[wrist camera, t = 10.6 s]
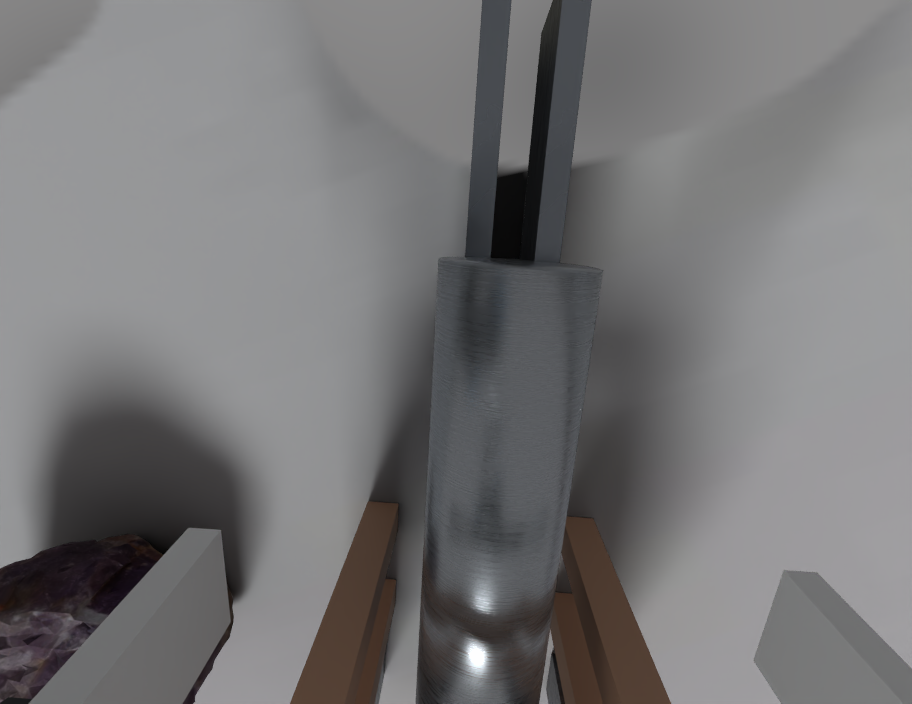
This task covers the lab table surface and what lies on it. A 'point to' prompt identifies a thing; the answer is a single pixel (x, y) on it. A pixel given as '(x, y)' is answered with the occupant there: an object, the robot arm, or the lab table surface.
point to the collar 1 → (593, 586)
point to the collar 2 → (566, 637)
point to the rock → (68, 607)
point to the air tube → (500, 471)
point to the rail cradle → (549, 127)
